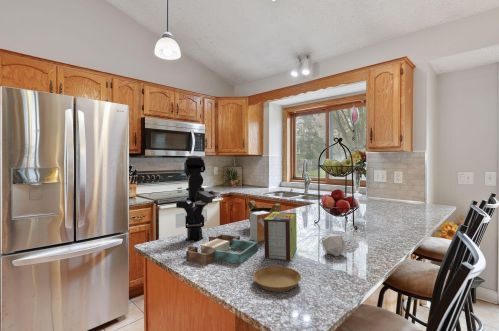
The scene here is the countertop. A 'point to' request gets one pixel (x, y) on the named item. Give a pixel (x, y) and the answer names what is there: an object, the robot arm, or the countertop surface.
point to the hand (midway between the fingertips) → (195, 221)
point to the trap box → (224, 255)
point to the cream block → (215, 246)
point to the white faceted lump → (334, 244)
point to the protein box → (280, 235)
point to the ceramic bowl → (262, 208)
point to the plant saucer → (277, 278)
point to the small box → (257, 225)
